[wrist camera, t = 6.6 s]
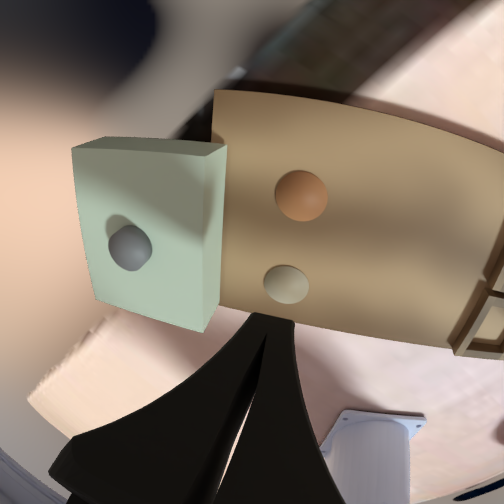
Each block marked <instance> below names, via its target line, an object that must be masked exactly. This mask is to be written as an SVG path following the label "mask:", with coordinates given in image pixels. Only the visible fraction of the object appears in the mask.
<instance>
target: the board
mask: <svg viewBox="0 0 504 504" xmlns="http://www.w3.org/2000/svg"><path fill="white" fill-rule="evenodd" d="M211 143H219V144H227V159H226V174H225V191H224V209H223V228H222V249H221V273H220V301H219V304H218V305H220V306H224V307H228V308H232V309H237V310H241V311H245V312H249V313H253V312H258V313H262V314H267V315H271V316H276V317H280V318H285V319H290V320H293V322H295V323H300V324H305V325H310V326H315V327H320V328H325V329H330V330H335V331H341V332H346V333H352V334H357V335H363V336H369V337H375V338H381V339H387V340H393V341H399V342H406V343H412V344H419V345H426V346H433V347H441V348H448V349H452V350H453V354H454V356H463V357H472V358H482V359H493V360H504V153H502V152H500V151H498V150H495V149H493V148H490V147H488V146H486V145H483V144H480V143H478V142H475V141H473V140H470V139H467V138H465V137H462V136H459V135H456V134H453V133H450V132H447V131H444V130H441V129H438V128H435V127H432V126H429V125H425V124H422V123H419V122H415V121H412V120H408V119H405V118H401V117H397V116H393V115H389V114H385V113H381V112H377V111H373V110H369V109H364V108H360V107H355V106H350V105H345V104H340V103H334V102H329V101H323V100H317V99H311V98H304V97H297V96H290V95H282V94H273V93H264V92H253V91H240V90H225V89H214V103H213V118H212V135H211Z"/></svg>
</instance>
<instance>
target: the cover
mask: <svg viewBox="0 0 504 504" xmlns="http://www.w3.org/2000/svg"><path fill="white" fill-rule="evenodd" d="M71 150H72V163H73V173H74V182H75V191H76V199H77V207H78V213H79V220H80V226H81V232H82V238H83V243H84V249H85V254H86V259H87V264H88V268H89V272H90V277H91V282H92V286H93V290H94V294H95V298H96V300H99V301H102V302H104V303H107V304H110V305H113V306H116V307H119V308H122V309H125V310H128V311H131V312H134V313H137V314H140V315H143V316H146V317H149V318H153V319H156V320H159V321H162V322H166V323H169V324H172V325H176V326H179V327H183V328H186V329H190V330H193V331H197V332H200V333H203V332H204V330H205V328H206V327H207V325H208V323H209V321H210V319H211V317H212V315H213V313H214V312H215V310H216V308H217V306H218V304H219V301H220V273H221V249H222V228H223V209H224V191H225V174H226V159H227V144H219V143H209V142H199V141H187V140H174V139H158V138H137V137H102V138H99V139H96V140H93V141H90V142H87V143H84V144H81V145H78V146H76V147H73V148H72V149H71Z"/></svg>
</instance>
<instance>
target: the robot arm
mask: <svg viewBox="0 0 504 504" xmlns="http://www.w3.org/2000/svg"><path fill="white" fill-rule="evenodd" d="M294 327H295V323H294V322H293V320H290V319H285V318H280V317H276V316H271V315H267V314H262V313H258V312H253V313H251V314H250V316H249V317H248V319H247V320H246V321H245V323H244V324H243V325H242V326H241V328H240V329H239V330H238V331H237V332H236V333H235V335H234V336H233V337H232V338H231V339H230V340H229V341H228V342H227V343H226V344H225V345H224V346H223V347H222V348H221V349H220V350H219V351H218V352H217V353H216V354H215V355H214V356H213V357H212V358H211V359H210V360H209V361H207V362H206V363H205V364H204V365H203V366H202V367H201V368H199V369H198V370H197V371H196V372H195V373H194V374H192V375H191V376H190V377H188V378H187V379H186V380H185V381H183V382H182V383H180V384H179V385H178V386H176V387H175V388H173V389H172V390H171V391H169V392H167V393H166V394H164V395H163V396H161V397H160V398H158V399H156V400H155V401H153V402H151V403H150V404H148V405H146V406H144V407H143V408H141V409H139V410H137V411H135V412H133V413H131V414H129V415H127V416H125V417H122V418H120V419H118V420H116V421H114V422H112V423H109V424H107V425H104V426H102V427H99V428H96V429H93V430H90V431H88V432H85V433H82V434H79V435H76V436H74V437H72V439H71V440H70V441H69V442H68V443H67V444H66V446H65V447H64V448H63V449H62V450H61V452H60V453H59V455H58V457H57V458H56V460H55V461H54V463H53V464H52V466H51V467H50V469H49V471H48V472H49V475H50V476H51V477H52V478H53V479H54V480H55V481H57V482H58V483H59V484H61V485H62V486H63V487H65V488H66V489H67V490H68V491H70V492H71V493H72V494H71V496H70V497H69V499H68V500H67V499H66V498H64V497H63V496H61V495H59V494H58V493H57V492H55V491H54V490H52V489H51V488H49V487H48V486H47V485H45V484H44V483H42V482H41V481H40V480H38V479H37V478H36V477H34V476H33V475H32V474H30V473H29V472H28V471H27V470H25V469H24V468H23V467H22V466H21V465H19V464H18V463H17V462H16V461H15V460H13V459H12V458H11V457H10V456H9V455H7V454H6V453H5V452H4V451H3V450H2V449H1V448H0V504H410V444H409V440H410V439H411V438H412V437H413V436H414V435H415V434H416V433H417V432H418V431H419V430H420V429H421V428H422V427H423V426H424V425H425V424H426V422H427V419H426V418H425V417H415V416H401V415H390V414H380V413H371V412H362V411H355V410H344V411H342V413H341V414H340V416H339V418H338V419H337V421H336V422H335V424H334V426H333V427H332V429H331V430H330V432H329V434H328V435H327V437H326V438H325V440H324V441H323V443H322V444H321V446H320V447H319V446H318V443H317V440H316V437H315V435H314V432H313V429H312V426H311V423H310V420H309V416H308V413H307V410H306V406H305V402H304V398H303V394H302V390H301V385H300V380H299V375H298V369H297V363H296V355H295V344H294ZM254 394H255V395H254ZM253 397H254V398H253ZM252 399H253V401H252ZM251 402H252V404H251ZM250 404H251V407H250V410H249V413H248V416H247V418H246V421H245V424H244V427H243V429H242V432H241V435H240V437H239V440H238V443H237V445H236V448H235V450H234V453H233V456H232V458H231V461H230V463H229V466H228V468H227V471H226V473H225V475H224V478H223V480H222V482H221V479H222V476H223V473H224V470H225V467H226V464H227V461H228V458H229V455H230V452H231V449H232V446H233V444H234V441H235V439H236V436H237V434H238V432H239V429H240V427H241V425H242V423H243V420H244V418H245V416H246V413H247V411H248V409H249V406H250ZM324 458H325V460H324ZM220 482H221V485H220ZM219 485H220V487H219ZM218 488H219V489H218ZM217 491H218V492H217Z"/></svg>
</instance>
